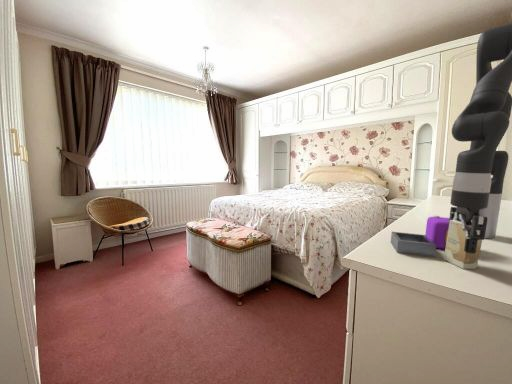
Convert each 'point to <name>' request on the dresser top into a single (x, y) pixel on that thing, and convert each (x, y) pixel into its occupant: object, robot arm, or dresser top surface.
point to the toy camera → (437, 230)
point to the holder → (413, 244)
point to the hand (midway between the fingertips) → (462, 247)
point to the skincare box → (460, 247)
